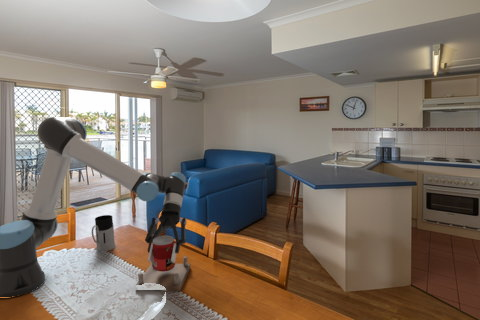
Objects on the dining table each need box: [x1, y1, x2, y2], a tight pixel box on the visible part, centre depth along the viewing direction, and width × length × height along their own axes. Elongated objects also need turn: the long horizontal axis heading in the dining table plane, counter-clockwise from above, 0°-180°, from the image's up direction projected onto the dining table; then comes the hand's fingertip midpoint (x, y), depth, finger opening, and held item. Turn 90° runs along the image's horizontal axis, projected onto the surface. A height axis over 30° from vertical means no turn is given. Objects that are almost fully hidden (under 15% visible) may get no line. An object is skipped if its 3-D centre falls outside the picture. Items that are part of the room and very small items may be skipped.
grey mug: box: [91, 214, 117, 252], centre depth 132 cm, size 9×14×15 cm, turn 176°
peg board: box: [135, 256, 191, 293], centre depth 106 cm, size 16×16×6 cm
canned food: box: [153, 234, 176, 272], centre depth 106 cm, size 8×8×11 cm
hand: (161, 261), depth 102 cm, fingers closed on canned food, 8 cm apart
